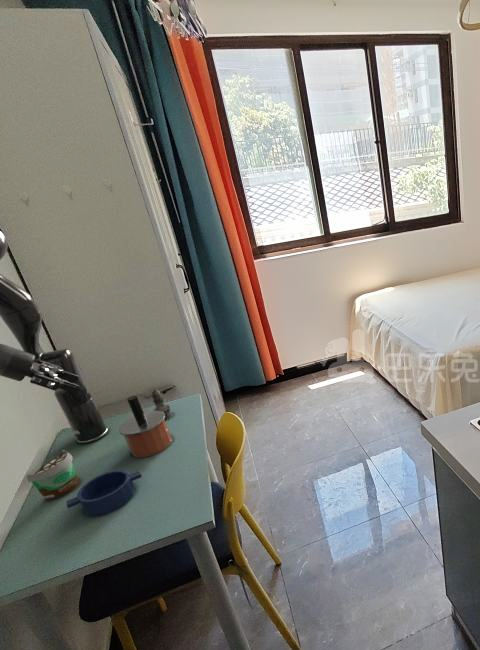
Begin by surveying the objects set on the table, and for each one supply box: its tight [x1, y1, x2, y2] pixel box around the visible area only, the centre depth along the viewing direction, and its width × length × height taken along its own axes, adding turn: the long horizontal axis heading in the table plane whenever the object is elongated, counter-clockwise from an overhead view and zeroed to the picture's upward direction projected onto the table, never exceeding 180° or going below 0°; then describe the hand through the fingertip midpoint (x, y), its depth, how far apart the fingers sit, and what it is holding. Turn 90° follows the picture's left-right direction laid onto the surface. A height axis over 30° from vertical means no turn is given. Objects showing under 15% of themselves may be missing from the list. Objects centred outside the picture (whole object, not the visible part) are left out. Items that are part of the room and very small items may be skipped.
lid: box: [118, 395, 165, 436], centre depth 142 cm, size 14×14×10 cm
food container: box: [26, 449, 80, 501], centre depth 129 cm, size 12×6×10 cm, turn 168°
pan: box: [66, 470, 142, 517], centre depth 124 cm, size 13×18×5 cm
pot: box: [123, 420, 173, 458], centre depth 146 cm, size 12×12×9 cm
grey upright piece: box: [151, 388, 174, 421], centre depth 162 cm, size 6×6×12 cm
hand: (77, 384), depth 124 cm, fingers open, 8 cm apart
